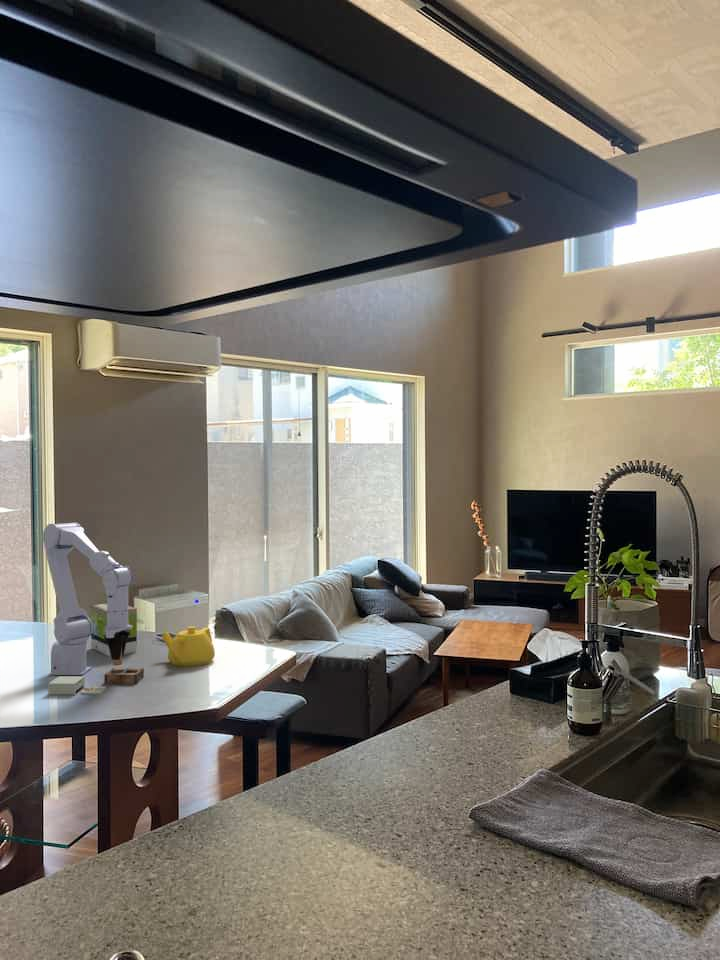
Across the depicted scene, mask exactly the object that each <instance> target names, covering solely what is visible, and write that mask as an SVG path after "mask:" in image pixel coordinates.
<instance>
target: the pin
mask: <svg viewBox="0 0 720 960" xmlns="http://www.w3.org/2000/svg"><path fill="white" fill-rule="evenodd" d="M122 664H123V657H122V651H121V657H120V659H119V660H112V665H113V666H121V665H122Z"/></svg>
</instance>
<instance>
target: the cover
mask: <svg viewBox="0 0 720 960" xmlns="http://www.w3.org/2000/svg"><path fill="white" fill-rule="evenodd" d="M85 681H86V680H85V676H78V675H58V676H57V677H55V678H54V679H53V680H52V681H50V682H48V695H74V696H75V695H76V694H77V693H76V692H77V691H78V690H80V689H81V688H82V689H83V688H84V689H85Z"/></svg>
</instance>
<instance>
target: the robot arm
mask: <svg viewBox="0 0 720 960" xmlns="http://www.w3.org/2000/svg"><path fill="white" fill-rule="evenodd" d="M41 537H42V542H43V545H44V550H45V555H46V560H47V565H48V568H49V572H50V573H49V574H50V576H51V577H50V578H51V580H52V584H53V589H54V593H55V594H54V595H55V597H56V601H57V605H58V610H59V612H58V614H57V615H56V616H55V617H54V619H53V624H54V625H53V626H54V629H53V633H54V637H55V640H56V641H55V642H54V643H53V644H52V645H51V651H50V672H49V675H50V676H83V675H84V674H86V673H87V672H89V671H90V670H91V669H92V667H91V666H87V642H88V641H89V640H90V639H89V637H91V634H92V631H93V625H92V622H91V618H90V617H89V615H88V612H87V610H85V609H83V608H82V607H80V605H79V601H78V597H77V593H76V589H75V585H74V581H73V577H72V572H71V569H70V565H69V564H70V563H69V561H68V555H69V553H70V552H71V551H72V550H73V549H74V548H76V549H77V550H78V551H79V552H80V553H82V554H83V555H84V556H85V557H86V558H87V559H89V566H90V567H91V568H92V569H93V570H94V571H95V573H97V575H99V576H100V577H101V579H102V580H101V581H102V584H103V586H104V589H105V594H106V600H107V602H106V604H107V626H106V630H107V631H106V635H104V638H105V640H106V642H107V644H108V646H109V650H110V654H111V656H110V658H111V660H112V661H113V660H119V659H120V657H121V651H122V658H123V657H124V655H125V654H124V651H125V646H126V642H127V639H128V637H129V635H130V633H131V631H128V630H126V629H131V628H132V625H129V621H128V606H129V586H131V585H132V583H133V580H134V575H133V571H132V570H131V569H130V567H129V566H122V565H120V564H119V562H117V561H116V560H115V559H114V558H113V557H112V556H110V553H109V552H108V551H104V550H99V549H98V548H97V547H96V546H95V544H93V542H92V541H91V540H90V538H88V536H87V535H86V534H85V529H84V527H82V526H81V524H79V523H78V522H75V521H73V522H68V523H66V522H65V523H64V522H63V523H48V524H47V525H46V526H45V527H44V530H43V532H42V534H41Z"/></svg>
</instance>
